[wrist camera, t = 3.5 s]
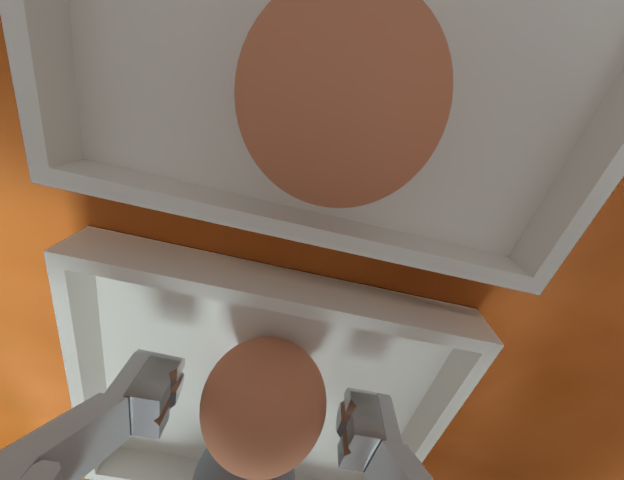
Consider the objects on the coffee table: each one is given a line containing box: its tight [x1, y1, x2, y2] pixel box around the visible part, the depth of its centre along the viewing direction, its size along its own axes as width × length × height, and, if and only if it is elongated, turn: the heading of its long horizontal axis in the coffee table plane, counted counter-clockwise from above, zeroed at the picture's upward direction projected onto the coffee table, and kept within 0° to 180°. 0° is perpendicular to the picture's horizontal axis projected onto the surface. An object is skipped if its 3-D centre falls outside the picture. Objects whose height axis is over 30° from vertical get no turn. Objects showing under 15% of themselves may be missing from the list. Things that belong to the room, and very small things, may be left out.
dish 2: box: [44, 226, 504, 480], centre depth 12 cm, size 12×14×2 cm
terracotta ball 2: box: [234, 0, 453, 208], centre depth 6 cm, size 4×4×4 cm
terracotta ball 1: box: [199, 336, 327, 480], centre depth 10 cm, size 4×4×4 cm
